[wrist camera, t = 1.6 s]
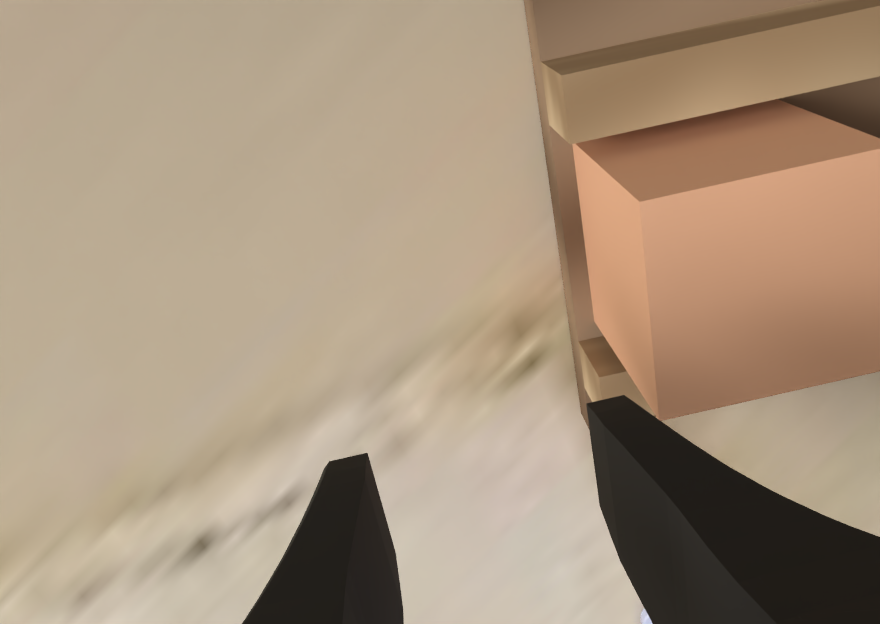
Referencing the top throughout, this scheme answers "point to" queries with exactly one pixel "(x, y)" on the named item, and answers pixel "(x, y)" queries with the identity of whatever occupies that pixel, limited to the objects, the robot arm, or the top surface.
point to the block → (734, 254)
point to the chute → (680, 100)
